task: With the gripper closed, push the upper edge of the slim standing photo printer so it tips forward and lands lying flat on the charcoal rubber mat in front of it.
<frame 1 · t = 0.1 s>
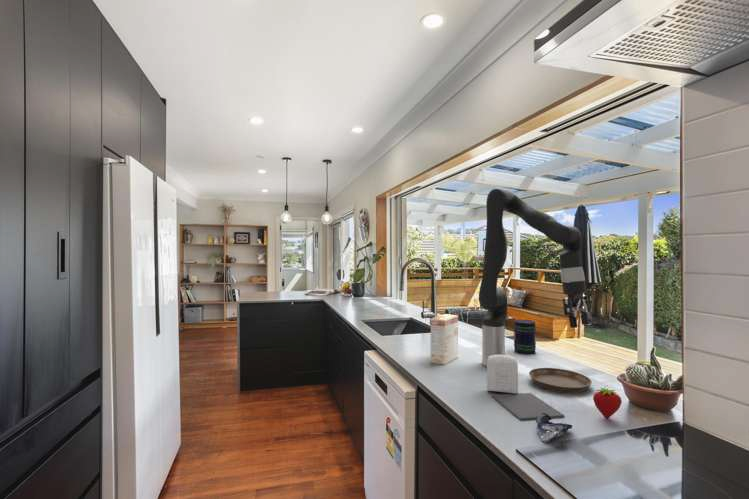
hand: (579, 326, 135), 22 cm above the worktop, tool pointing down, fingers open, 8 cm apart
photo printer: (502, 392, 131), on the worktop, touching mat
strawberry: (607, 418, 111), on the worktop
mat: (525, 406, 120), on the worktop
snack package: (551, 435, 102), on the worktop
plant saucer: (559, 385, 139), on the worktop
coffeecake box: (444, 360, 171), on the worktop
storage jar: (524, 352, 185), on the worktop
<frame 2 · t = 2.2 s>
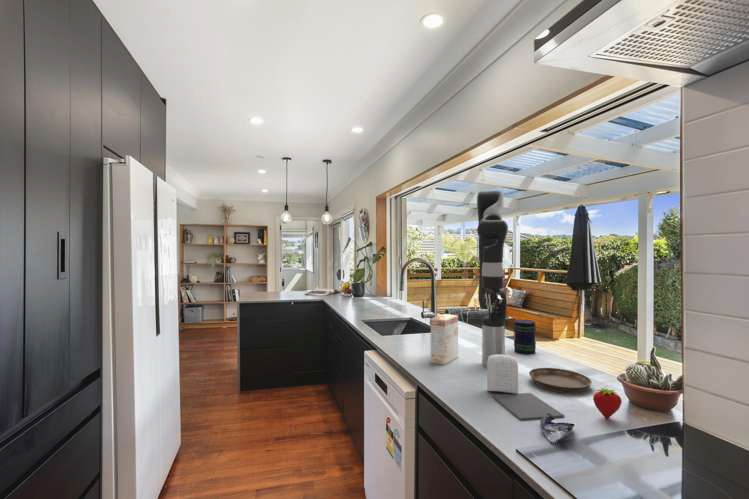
hand: (492, 322, 138), 23 cm above the worktop, tool pointing down, fingers closed
snack package: (555, 435, 102), on the worktop
everything else where it was.
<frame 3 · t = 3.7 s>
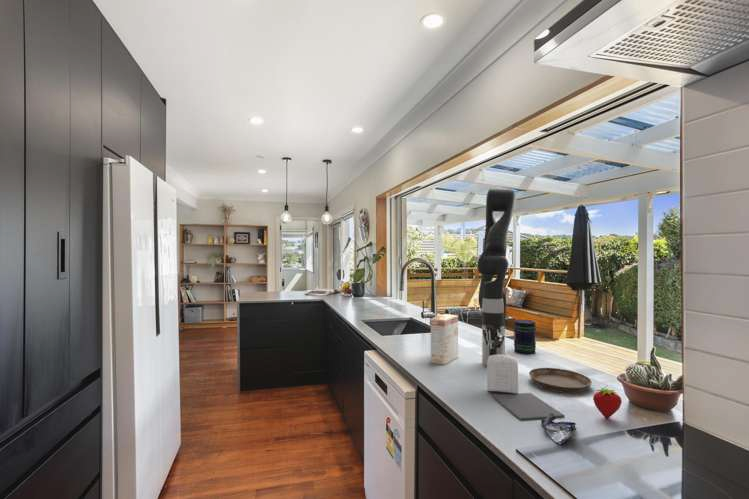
hand: (492, 358, 138), 10 cm above the worktop, tool pointing down, fingers closed
photo printer: (502, 392, 131), on the worktop, touching gripper, mat
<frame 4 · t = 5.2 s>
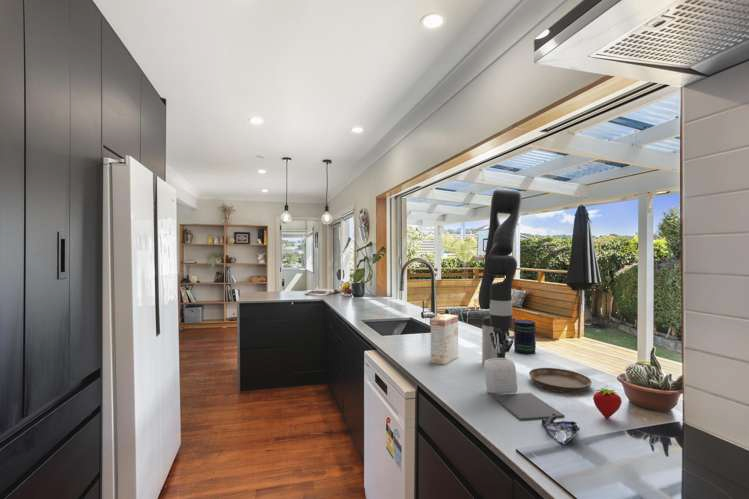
hand: (501, 363, 131), 10 cm above the worktop, tool pointing down, fingers closed
photo printer: (502, 390, 131), point 1 cm above the worktop, touching mat
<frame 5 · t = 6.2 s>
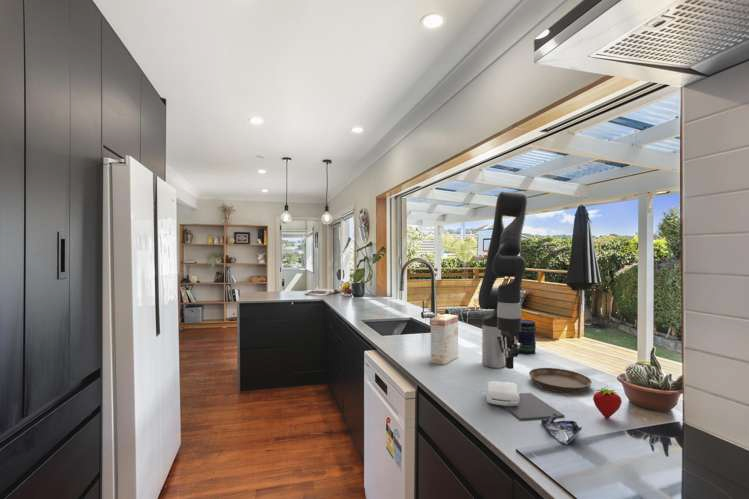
hand: (509, 368, 126), 10 cm above the worktop, tool pointing down, fingers closed
photo printer: (502, 387, 129), point 3 cm above the worktop, touching mat
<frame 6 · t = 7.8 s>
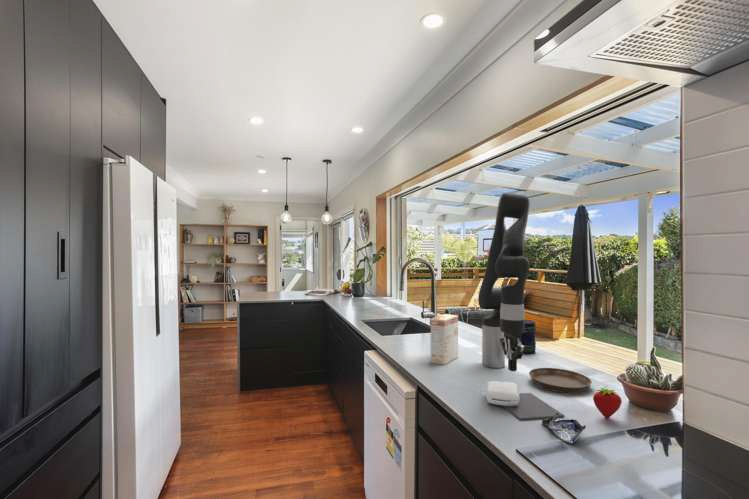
hand: (512, 370, 124), 10 cm above the worktop, tool pointing down, fingers closed
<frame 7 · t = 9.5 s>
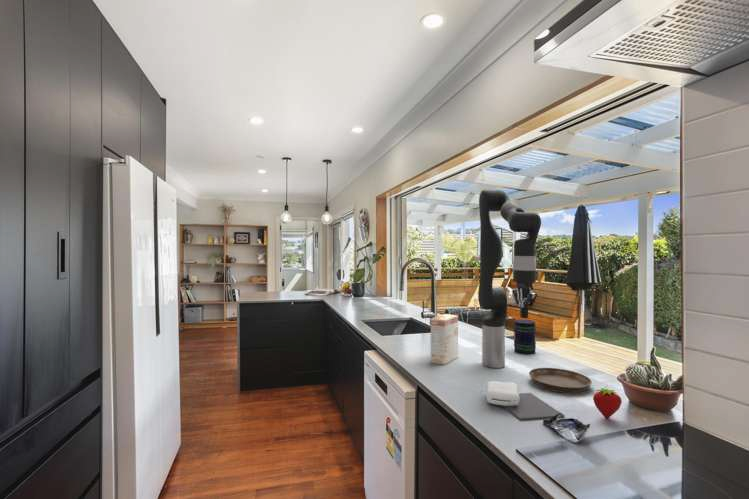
hand: (524, 317, 134), 25 cm above the worktop, tool pointing down, fingers closed
snack package: (565, 433, 103), on the worktop
everything else where it was.
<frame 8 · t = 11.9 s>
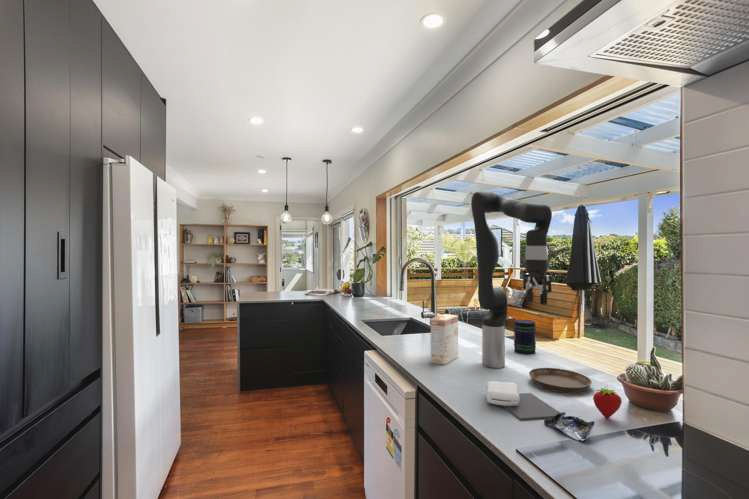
hand: (536, 302, 138), 30 cm above the worktop, tool pointing down, fingers open, 8 cm apart
snack package: (567, 432, 103), on the worktop
everything else where it was.
at the end: photo printer tilted 90°; photo printer inside the target area on the mat (10.2 cm from its centre), point 2.7 cm above the mat's base; the gripper is holding nothing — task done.
